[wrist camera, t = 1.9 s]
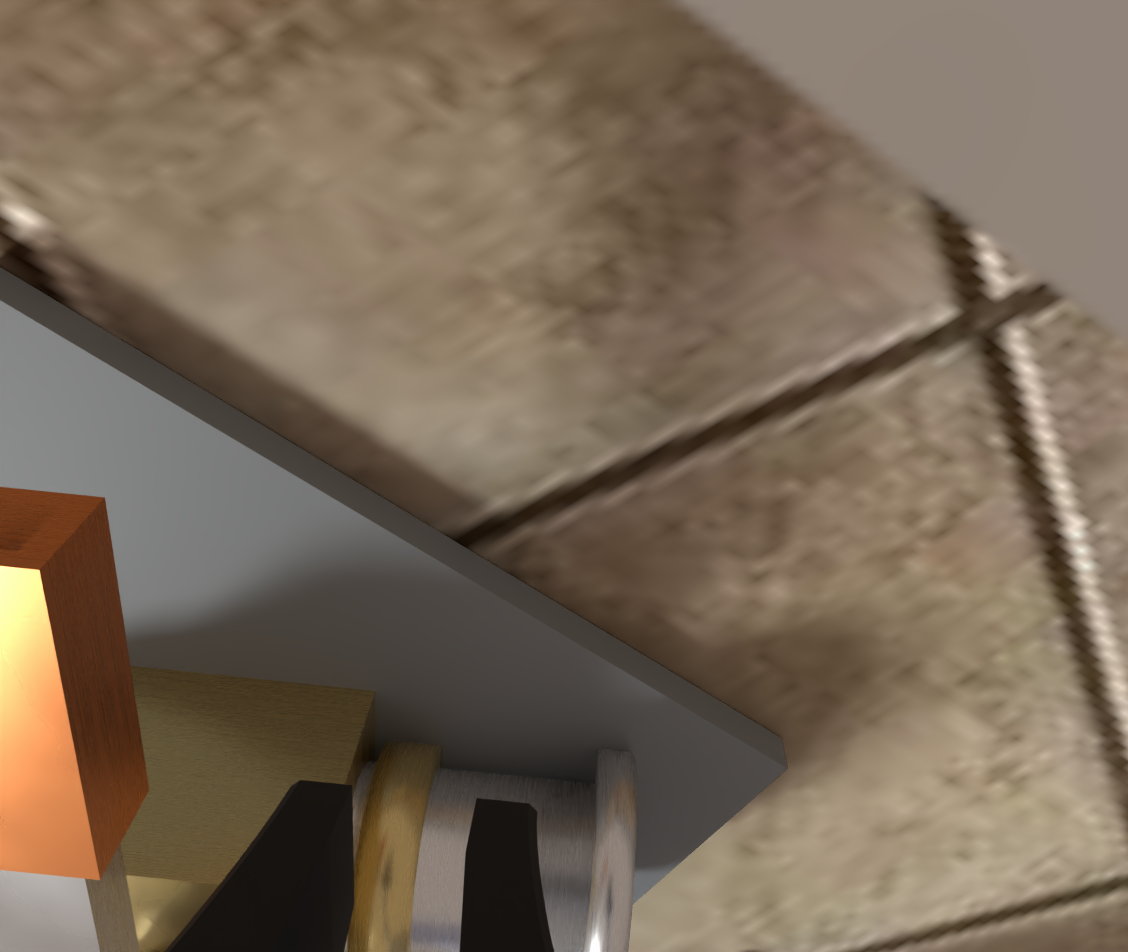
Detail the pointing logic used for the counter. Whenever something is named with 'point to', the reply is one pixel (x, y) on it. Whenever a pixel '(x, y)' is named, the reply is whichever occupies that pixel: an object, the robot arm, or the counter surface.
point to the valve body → (357, 814)
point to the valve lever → (64, 729)
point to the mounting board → (349, 589)
